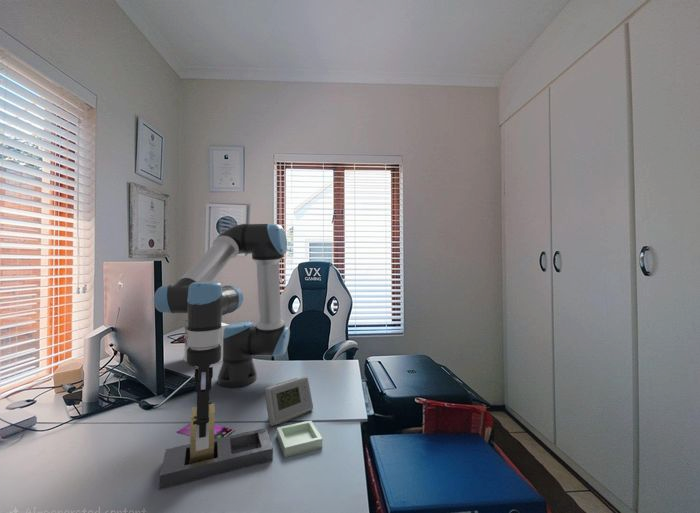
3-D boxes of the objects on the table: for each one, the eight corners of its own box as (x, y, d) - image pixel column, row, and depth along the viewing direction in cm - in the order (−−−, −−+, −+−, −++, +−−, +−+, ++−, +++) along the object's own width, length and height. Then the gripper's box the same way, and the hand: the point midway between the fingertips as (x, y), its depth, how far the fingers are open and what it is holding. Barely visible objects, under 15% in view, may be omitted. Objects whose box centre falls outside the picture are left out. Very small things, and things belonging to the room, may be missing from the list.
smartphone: (217, 446, 81) (217, 443, 81) (175, 433, 86) (176, 430, 86) (235, 432, 88) (236, 429, 88) (196, 421, 93) (196, 418, 93)
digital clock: (268, 429, 88) (269, 393, 89) (259, 416, 96) (260, 382, 96) (318, 415, 97) (318, 381, 97) (306, 403, 105) (307, 373, 105)
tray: (276, 436, 85) (277, 427, 85) (310, 428, 89) (311, 420, 89) (284, 457, 76) (284, 447, 76) (322, 447, 80) (322, 438, 80)
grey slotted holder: (165, 461, 74) (166, 449, 74) (266, 438, 84) (266, 427, 84) (159, 489, 64) (159, 475, 65) (272, 460, 75) (272, 448, 75)
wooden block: (191, 456, 74) (192, 407, 74) (213, 451, 76) (214, 403, 76) (189, 469, 69) (190, 417, 70) (213, 463, 71) (214, 412, 72)
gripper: (189, 338, 80) (187, 426, 79) (183, 359, 63) (181, 470, 63) (220, 335, 83) (218, 420, 83) (222, 354, 66) (220, 460, 66)
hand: (202, 441), depth 73 cm, fingers closed on wooden block, 5 cm apart
